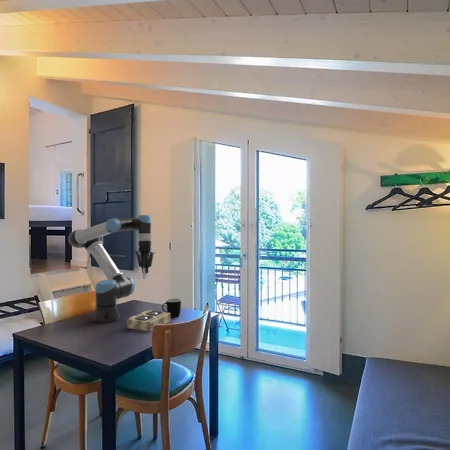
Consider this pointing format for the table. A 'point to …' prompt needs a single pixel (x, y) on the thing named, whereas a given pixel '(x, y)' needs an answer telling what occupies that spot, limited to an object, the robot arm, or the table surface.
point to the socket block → (148, 320)
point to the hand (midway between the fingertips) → (145, 278)
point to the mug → (173, 307)
